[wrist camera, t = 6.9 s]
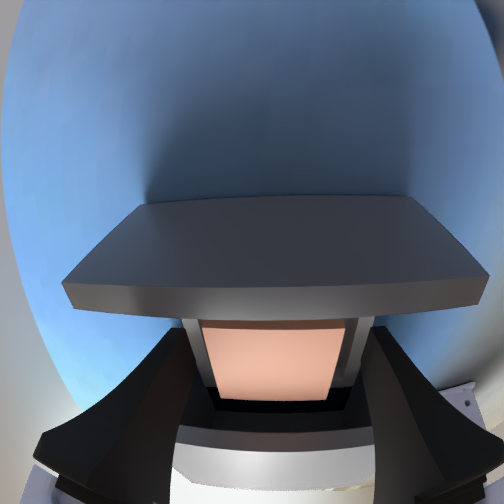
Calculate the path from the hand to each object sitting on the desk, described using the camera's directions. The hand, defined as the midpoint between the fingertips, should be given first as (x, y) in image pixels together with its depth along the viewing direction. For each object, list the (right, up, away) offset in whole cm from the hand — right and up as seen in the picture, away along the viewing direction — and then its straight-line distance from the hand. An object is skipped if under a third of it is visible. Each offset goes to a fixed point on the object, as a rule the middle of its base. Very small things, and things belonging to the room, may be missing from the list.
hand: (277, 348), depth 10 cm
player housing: (+1, -6, +8) cm, 10 cm away
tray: (0, +1, +4) cm, 4 cm away
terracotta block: (0, +1, +3) cm, 3 cm away
